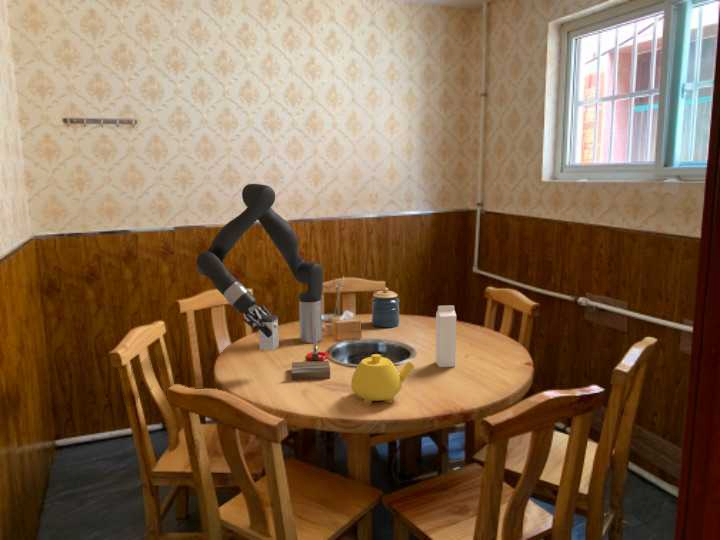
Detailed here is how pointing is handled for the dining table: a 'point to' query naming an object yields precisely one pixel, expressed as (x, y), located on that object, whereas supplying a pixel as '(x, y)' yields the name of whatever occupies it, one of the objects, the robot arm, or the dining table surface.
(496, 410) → the dining table surface
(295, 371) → the coupler plate
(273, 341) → the grey rectangular container
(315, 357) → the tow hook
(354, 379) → the teapot
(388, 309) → the canister
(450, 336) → the milk
